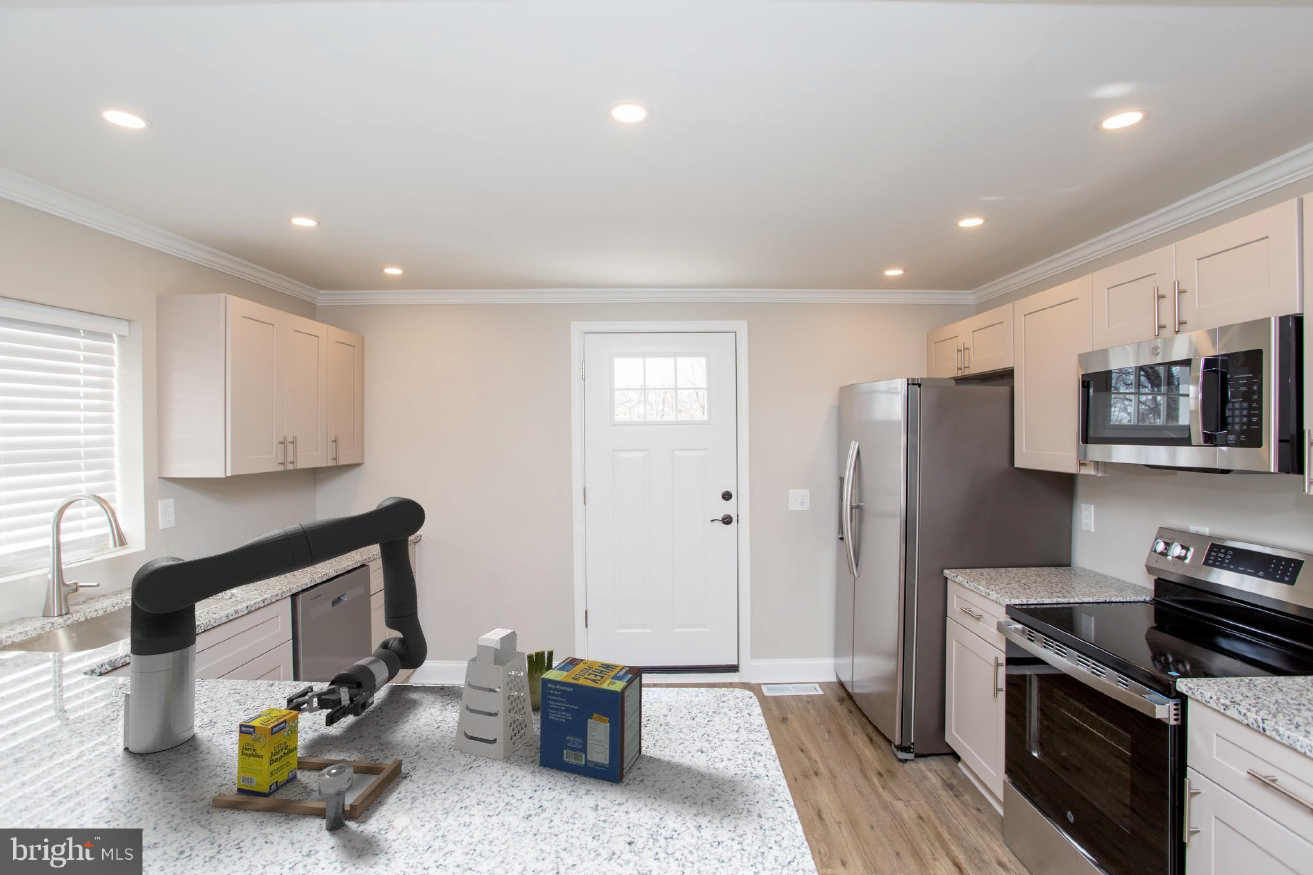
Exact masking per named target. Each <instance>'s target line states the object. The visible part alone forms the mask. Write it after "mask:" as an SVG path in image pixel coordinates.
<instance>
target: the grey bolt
mask: <svg viewBox="0 0 1313 875" xmlns="http://www.w3.org/2000/svg"><path fill="white" fill-rule="evenodd" d="M353 774H354V772H353V766H352V765H350V764H337V765H333V766H330V767H328V768H326V769H324V770H320V772H319V774H318V787H317V788H318V790H317V791H318V794H319V796H321V797H324V798H326V816H325V830H326V831H328V832H332V831H333V832H334V831H337V830H341V829H342V827H344V825H345V821H346V820H345V819H346V818H345V793H347V792H348V791H349V790H351V788H352V787H353Z"/></svg>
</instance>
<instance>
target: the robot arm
mask: <svg viewBox="0 0 1313 875" xmlns="http://www.w3.org/2000/svg"><path fill="white" fill-rule="evenodd" d="M425 512H426V511H425V509H424V508H423V506H422V505H421V504H420V503H418V501H416V500H413V499H411V498H408V497H401V496H390V497H387V498H384V499H383V500H381V501H380V502H379V503H378V505H376V507H375V508H374V509H372V510H368V511H366V512H362V513H359V514H354V515H348V516H339V517H331V518H322V519H316V520H310V521H305V522H301V523H297V524H292V525H290V526H286V527H285V526H284V527H281V528H278V529H275V530H271V531H269V532H266V533H263V534H262V535H260V536H257V537H255V538H252V539H250V540H249V541H246V542H244V543H242V544H240V545H237V546H235V547H233V548H230V549H228V550H225V551H222V552H219V553H214V554H210V555H206V556H201V557H197V558H192V559H187V560H185V559H183V558H180V557H177V556H160V557H158V558H157V557H156V558H154V559H151V560H149V561H147V562H146V563H144V564H143V565H142V566H141V567H139V569H138V570H136V572H135V574H134V576H133V578H132V581H131V588H130V589H131V591H130V592H131V594H130V596H131V597H130V659H129V660H130V662H129V664H130V667H129V670H130V674H129V676H130V677H129V691H128V692H126V693H125V694H124V696H123V697H124V702H123V703H124V704H123V705H124V706H123V707H124V708H123V748H128V751H129V752H131V753H134V754H150V753H151V754H152V753H155V752H161V751H164V750H169V749H171V748H174V747H177V746H179V745H182V744H183V743H185V742H187V741H188V740H190V739H191V738H192V737H193V736H194V734H195V711H196V707H195V706H196V674H197V673H196V672H197V671H196V668H197V667H196V664H197V663H196V661H197V658H196V657H197V621H196V604H198V603H199V602H202V601H203V600H206V599H209V598H213V597H215V596H217V595H219V594H222V593H225V592H228V591H230V590H233V589H236V588H239V587H243V586H246V585H251V584H255V583H259V582H262V581H266V580H271V579H274V578H277V577H281V576H284V575H287V574H291V573H294V572H297V571H300V570H304V569H307V568H311V567H314V566H317V565H319V564H322V563H325V562H328V561H330V560H331V561H332V560H333V559H336V558H339V557H342V556H344V555H347V554H350V553H352V552H355V551H357V550H360V549H363V548H367V547H371V546H375V545H379V552H380V559H381V566H382V568H381V569H382V577H383V578H382V579H383V600H384V601H383V608H384V623H385V624H384V625H385V627H386V628H387V629H390V630H393V631H396V632H399V633H400V634H401V635H402V636H400V637H399V636H393V637H388V638H386V639H384V640H382V641H381V642H380V643H379V645H378V646H377V648H375V650H374V651H373V653H371V654H370V655H369V656H367V657H365V658H363V659H361V660H358V661H357V662H355V663H353V664H352V665H350V666H348V667H347V668H345V669H344V670H342V671H340V672H338V673H337V674H336V675H334V677H333V678H332V679H331V680H330V683H329V684H328V685H327V686H325V687H323V688H321V689H319V690H314V686H313V685H312V686H311V685H309V686H307V687H305V688H303V689H301V690H299V691H297V692H296V693H293V694H292V695H290V696H289V697H286V707H285V708H283V709H284V710H292V711H298V712H299V715H301V714H305V713H306V712H307V713H309V714H313V713H316V712H320V711H323V710H326V711H327V710H330V711H329V712H327V713H326V715H325V720H324V721H325V722H324V723H325V724H324V725H325V727H328V728H329V727H330V728H331V727H332V726H333V725H335V724H337V723H338V722H339V721H341V720H343V719H346V718H348V717H350V716H351V715H352V717H354V718H359V717H361V716H362V715H363V714H364V713H365V712H366V711H367V710H368V709H370V707H372V706H373V705H374V704H375V695H376V694H377V693H378V692H379V691H380V690H381V689H382V688H383V687H385V686H386V685H387V684H389V682H391V681H392V680H393V679H394V678H396V677H397V675H398V673H399V672H400V670H418V669H419V668H421V667H422V666H423V665H424V664H425V661H426V660H427V656H428V644H427V641H426V638H425V635H424V632H423V629H422V625H421V623H420V619H419V614H418V610H419V609H418V591H417V585H416V580H415V574H414V571H413V568H412V563H411V558H410V551H409V538H410V537H412V536H414V535H416V534H417V533H418V532H419V531H420V530H421V528H422V527H423V525H424V524H425V520H426V513H425ZM314 699H316V706H314ZM305 705H306V706H305ZM303 706H304V707H303Z"/></svg>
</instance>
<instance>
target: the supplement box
mask: <svg viewBox="0 0 1313 875" xmlns="http://www.w3.org/2000/svg"><path fill="white" fill-rule="evenodd" d="M284 709H285V708H283V709H282V708H276V707H269V708H267V709H265V710H264V711H262V712H260V713H258V714H256V715H254V716H253V717H250V718H248V719H247V720H243V721H242V722H240V723H239V724H238V747H237V748H238V749H237V751H238V752H237V783H236V784H237V785H236V792H237V793H241V794H247V795H251V796H253V795H254V796H257V797H265V798H269V797H270V796H271V795H272V794H273V793H275V792H276V791H277V790H279V789H280V788H282V787H283V786H284V785H287V784H288V783H289V782H291V781H293V780H294V779H297V776H298V768H297V757H298V752H299V751H298V748H299V747H298V746H299V717H300V716H299V715H300V714H299V712H298V711H292V710H284Z"/></svg>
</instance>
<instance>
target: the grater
mask: <svg viewBox="0 0 1313 875" xmlns="http://www.w3.org/2000/svg"><path fill="white" fill-rule="evenodd" d="M517 636H518V635H517V632H516V631H515V630H514V629H507V628H506V629H505V628H500V627H499V628H498V627H497V628H495V629H493V630H491V631H489V632H487V633H485V634H483V635H480V637H479V639H478V641H477V644H476V656H473V657H472V658H470V659H469V660H467V665H466V672H465V678H464V685H463V689H462V696H461V703H460V709H459V716H458V719H457V720H458V722H457V728H456V733H455V740H454V747H453V750H454V749H455V750H454V751H459V752H463V753H466V754H467V753H468V754H472V755H476V756H480V757H484V758H490V759H493V760H499V761H502V762H503V761H505V760H506V759H508V757H509V756H510V755H512V754H513V753H514V752H515V751H516V750H517V749H519V748H521V746H522V745H523V744H525V742H527V741H528V740H529V739H530V738H531V737H532V736H533V735H534V734H535V733H536V732H535V722H534V718H533V716H534V715H533V710H532V707H531V699H530V691H529V683H528V675H527V673H528V667H527V662H526V661H527V658H526V654H525V652H523V651H517V641H518V638H517ZM498 640H499V648H497V647H495V646H496V644H497V641H498ZM513 673H514V674H513ZM497 689H499V691H498V690H497ZM521 694H522V695H521ZM521 716H522V717H521ZM513 729H514V731H513ZM518 731H519V733H518ZM515 733H516V735H515ZM524 733H525V735H524ZM521 735H522V737H521ZM471 737H475V738H480V739H484V740H490V741H493V740H495V739H496V742H495V743H488V742H482V741H477V740H473V739H470V738H471ZM511 737H512V739H511ZM517 739H518V741H517ZM514 742H515V743H514Z"/></svg>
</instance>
